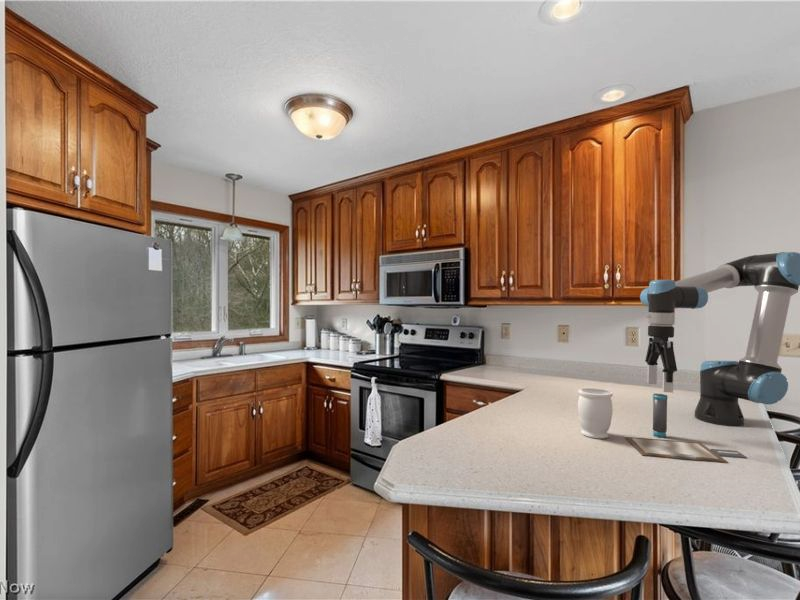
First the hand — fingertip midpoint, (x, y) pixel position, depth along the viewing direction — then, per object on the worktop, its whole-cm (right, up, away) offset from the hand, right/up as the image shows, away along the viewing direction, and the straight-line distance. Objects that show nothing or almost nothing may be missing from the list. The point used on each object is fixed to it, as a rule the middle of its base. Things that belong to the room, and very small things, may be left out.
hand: (659, 387), depth 140 cm
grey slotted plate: (+11, -17, -16) cm, 25 cm away
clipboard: (-4, -16, -12) cm, 21 cm away
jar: (-22, -16, +1) cm, 27 cm away
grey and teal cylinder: (0, -16, 0) cm, 16 cm away
